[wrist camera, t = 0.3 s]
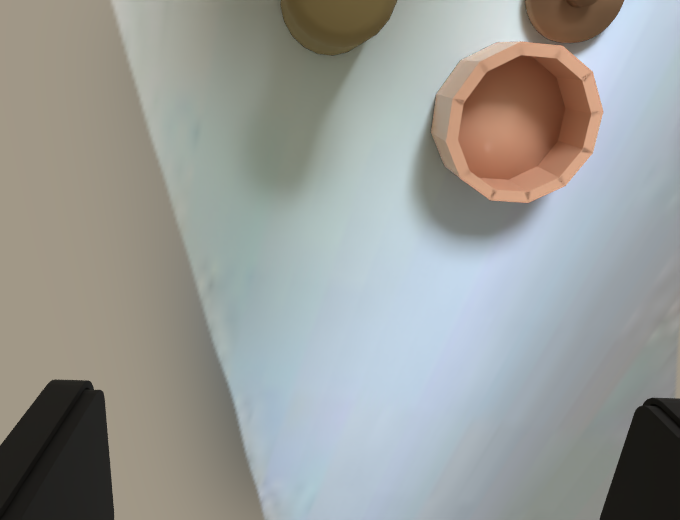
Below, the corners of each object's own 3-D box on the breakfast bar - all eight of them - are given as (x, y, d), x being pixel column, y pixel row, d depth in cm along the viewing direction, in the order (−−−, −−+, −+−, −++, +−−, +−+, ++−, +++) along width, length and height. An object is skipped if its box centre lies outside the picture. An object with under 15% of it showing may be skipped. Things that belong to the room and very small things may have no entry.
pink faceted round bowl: (444, 37, 34) (462, 36, 30) (584, 50, 35) (618, 50, 31) (423, 182, 37) (437, 197, 33) (551, 191, 38) (579, 206, 34)
